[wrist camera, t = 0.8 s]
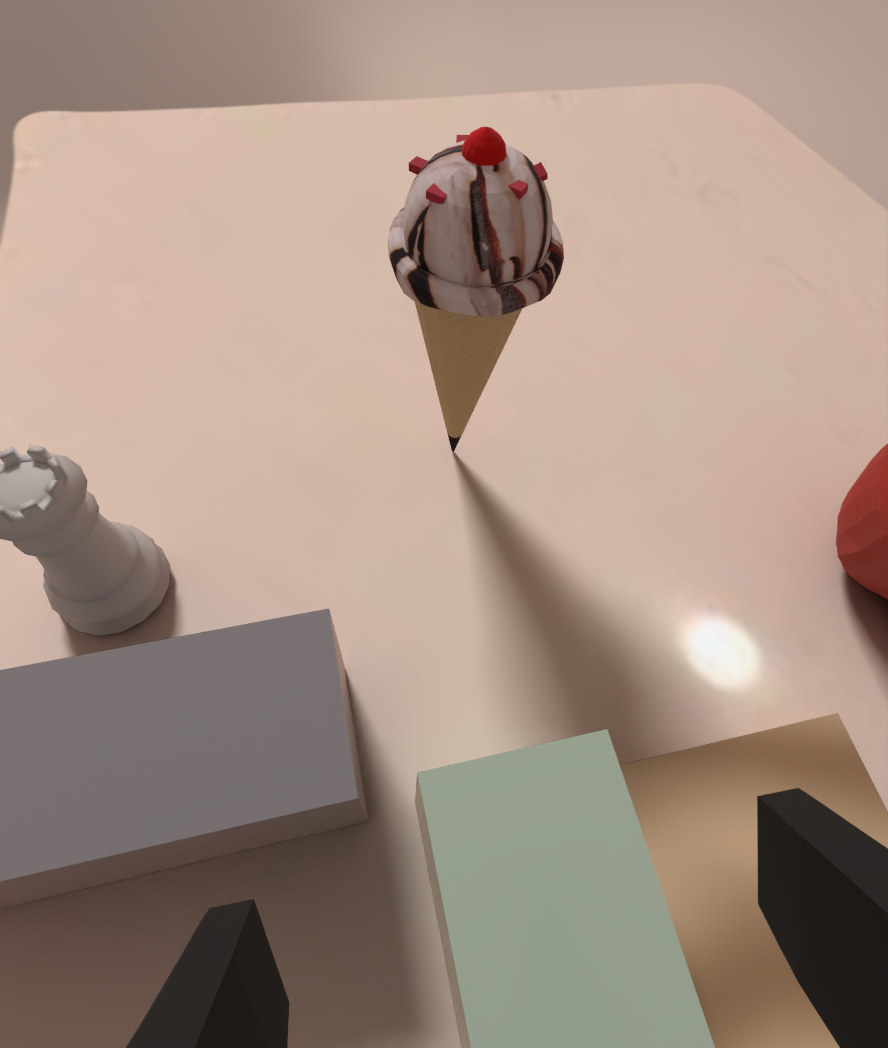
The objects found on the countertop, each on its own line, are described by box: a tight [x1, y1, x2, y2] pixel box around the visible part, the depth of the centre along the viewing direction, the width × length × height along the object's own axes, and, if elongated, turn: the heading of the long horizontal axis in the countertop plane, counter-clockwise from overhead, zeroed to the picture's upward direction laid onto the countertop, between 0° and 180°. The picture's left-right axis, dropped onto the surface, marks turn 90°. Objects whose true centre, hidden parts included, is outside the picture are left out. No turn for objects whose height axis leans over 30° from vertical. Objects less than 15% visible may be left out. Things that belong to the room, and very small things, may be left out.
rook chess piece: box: [0, 445, 170, 636], centre depth 23 cm, size 4×4×8 cm
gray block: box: [0, 609, 369, 909], centre depth 21 cm, size 13×6×6 cm, turn 103°
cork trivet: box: [620, 713, 888, 1048], centre depth 21 cm, size 16×9×1 cm, turn 13°
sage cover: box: [415, 729, 715, 1048], centre depth 18 cm, size 13×6×6 cm, turn 13°
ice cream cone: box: [388, 127, 564, 452], centre depth 24 cm, size 6×6×15 cm
